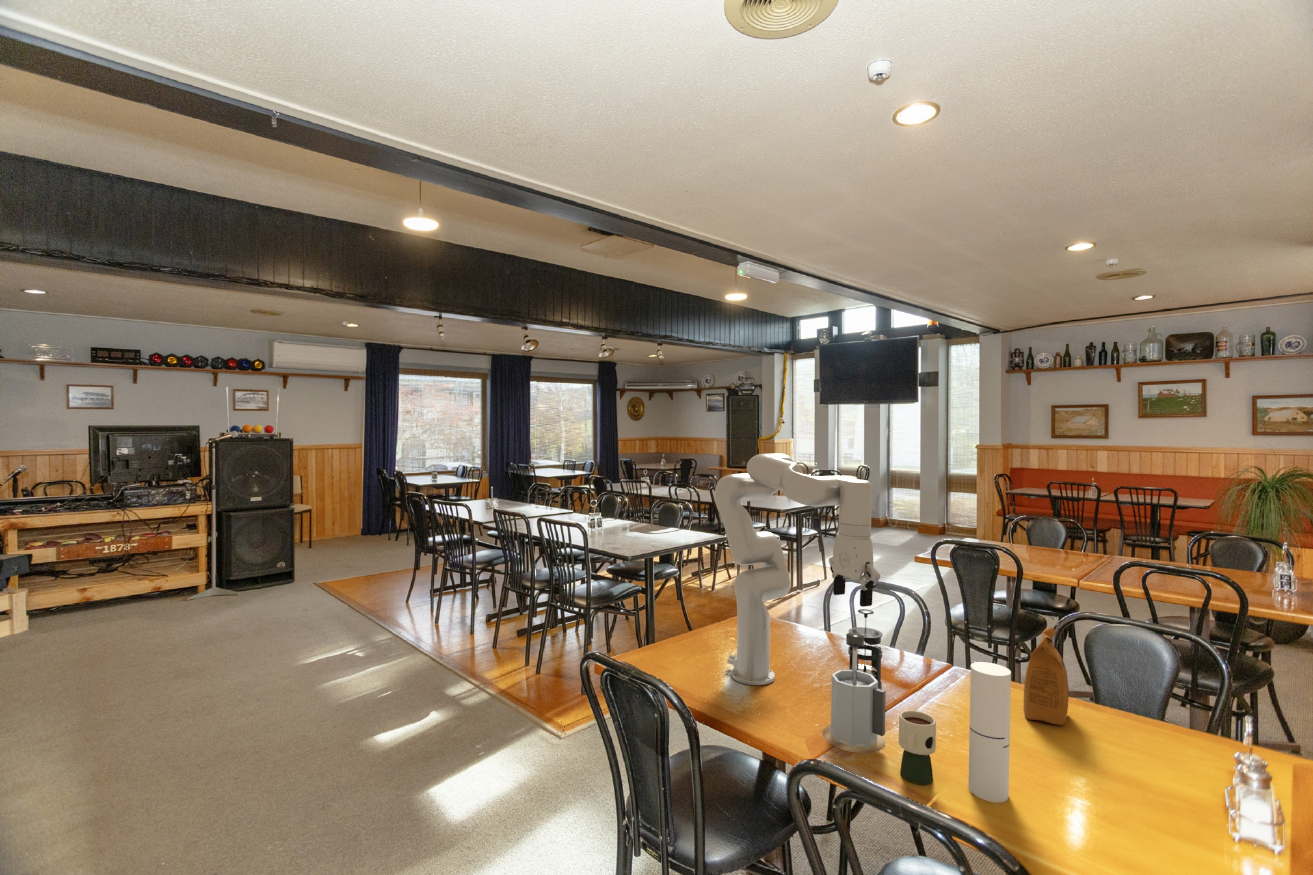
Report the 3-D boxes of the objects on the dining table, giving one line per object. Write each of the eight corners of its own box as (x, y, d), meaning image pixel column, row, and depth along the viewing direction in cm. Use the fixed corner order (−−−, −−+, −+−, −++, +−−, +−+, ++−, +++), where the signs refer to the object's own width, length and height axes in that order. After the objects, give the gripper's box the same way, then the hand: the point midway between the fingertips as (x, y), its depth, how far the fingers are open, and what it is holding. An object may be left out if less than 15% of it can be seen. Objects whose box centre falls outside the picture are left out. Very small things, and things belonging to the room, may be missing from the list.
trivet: (811, 739, 144) (811, 736, 144) (840, 719, 154) (840, 717, 154) (868, 762, 135) (868, 759, 135) (895, 739, 145) (895, 737, 145)
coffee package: (1072, 713, 159) (1074, 629, 159) (1065, 731, 150) (1067, 641, 149) (1028, 702, 166) (1029, 621, 165) (1019, 718, 156) (1020, 632, 156)
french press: (867, 703, 164) (869, 617, 163) (838, 691, 171) (839, 609, 171) (893, 693, 171) (894, 610, 170) (863, 681, 178) (864, 602, 178)
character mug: (928, 798, 122) (929, 732, 122) (891, 785, 126) (892, 722, 126) (940, 773, 131) (941, 712, 130) (905, 762, 135) (906, 703, 135)
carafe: (824, 736, 144) (825, 677, 144) (844, 722, 151) (845, 666, 151) (873, 756, 136) (874, 693, 136) (892, 740, 143) (893, 680, 143)
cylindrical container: (961, 782, 127) (963, 662, 127) (993, 780, 128) (996, 661, 128) (982, 803, 120) (984, 676, 120) (1016, 801, 121) (1019, 675, 121)
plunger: (833, 687, 144) (834, 635, 144) (847, 679, 149) (848, 628, 149) (861, 697, 139) (862, 642, 139) (875, 688, 144) (876, 635, 144)
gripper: (819, 524, 156) (817, 591, 157) (866, 537, 140) (864, 612, 141) (843, 523, 159) (841, 589, 160) (892, 536, 143) (889, 609, 144)
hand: (852, 599), depth 150 cm, fingers open, 9 cm apart
